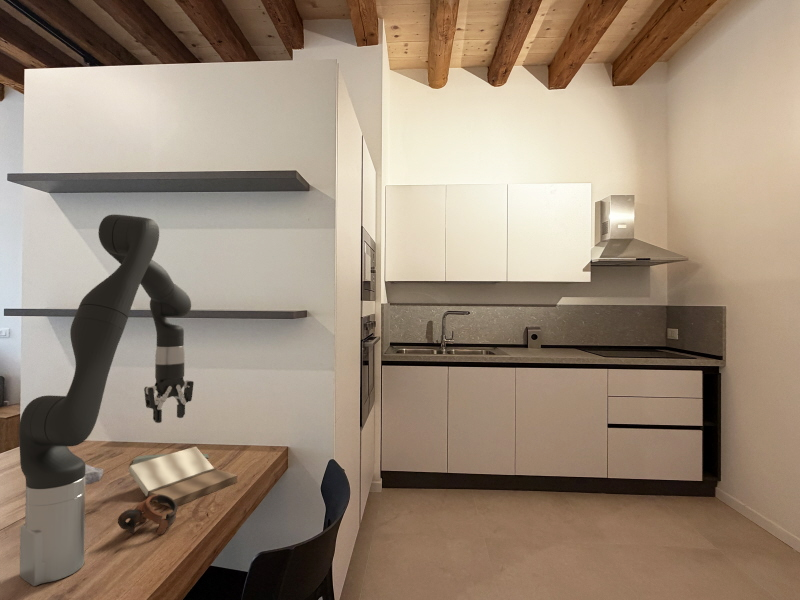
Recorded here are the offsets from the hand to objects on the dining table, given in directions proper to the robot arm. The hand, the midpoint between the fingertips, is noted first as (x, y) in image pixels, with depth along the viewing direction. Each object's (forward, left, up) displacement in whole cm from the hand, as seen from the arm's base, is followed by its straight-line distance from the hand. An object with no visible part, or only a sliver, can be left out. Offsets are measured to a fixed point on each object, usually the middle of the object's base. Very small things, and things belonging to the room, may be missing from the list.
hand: (169, 419), depth 134 cm
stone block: (-13, +23, -18) cm, 32 cm away
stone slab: (+12, +17, -19) cm, 28 cm away
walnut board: (0, -12, -18) cm, 21 cm away
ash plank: (0, -1, -15) cm, 15 cm away
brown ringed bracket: (-20, -23, -18) cm, 35 cm away
